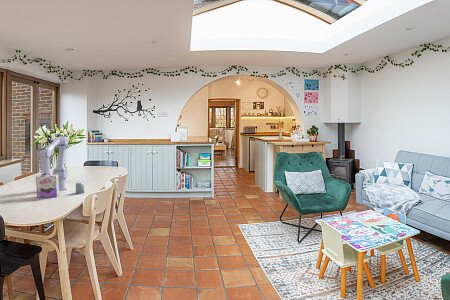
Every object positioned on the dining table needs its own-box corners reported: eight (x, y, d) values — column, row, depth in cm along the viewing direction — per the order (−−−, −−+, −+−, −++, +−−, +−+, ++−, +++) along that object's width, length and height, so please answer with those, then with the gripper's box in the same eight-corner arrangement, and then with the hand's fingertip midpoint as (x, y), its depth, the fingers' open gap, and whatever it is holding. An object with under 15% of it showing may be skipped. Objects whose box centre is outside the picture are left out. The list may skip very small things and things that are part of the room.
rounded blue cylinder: (74, 192, 245) (74, 183, 245) (82, 191, 249) (82, 182, 249) (77, 194, 241) (76, 184, 240) (85, 193, 245) (84, 183, 244)
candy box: (36, 198, 228) (35, 176, 226) (39, 195, 234) (38, 174, 232) (56, 197, 231) (55, 175, 229) (59, 195, 237) (58, 174, 235)
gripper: (37, 165, 238) (38, 182, 239) (41, 167, 227) (41, 185, 228) (47, 164, 243) (48, 181, 244) (51, 166, 232) (52, 184, 233)
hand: (46, 183), depth 236 cm, fingers closed
